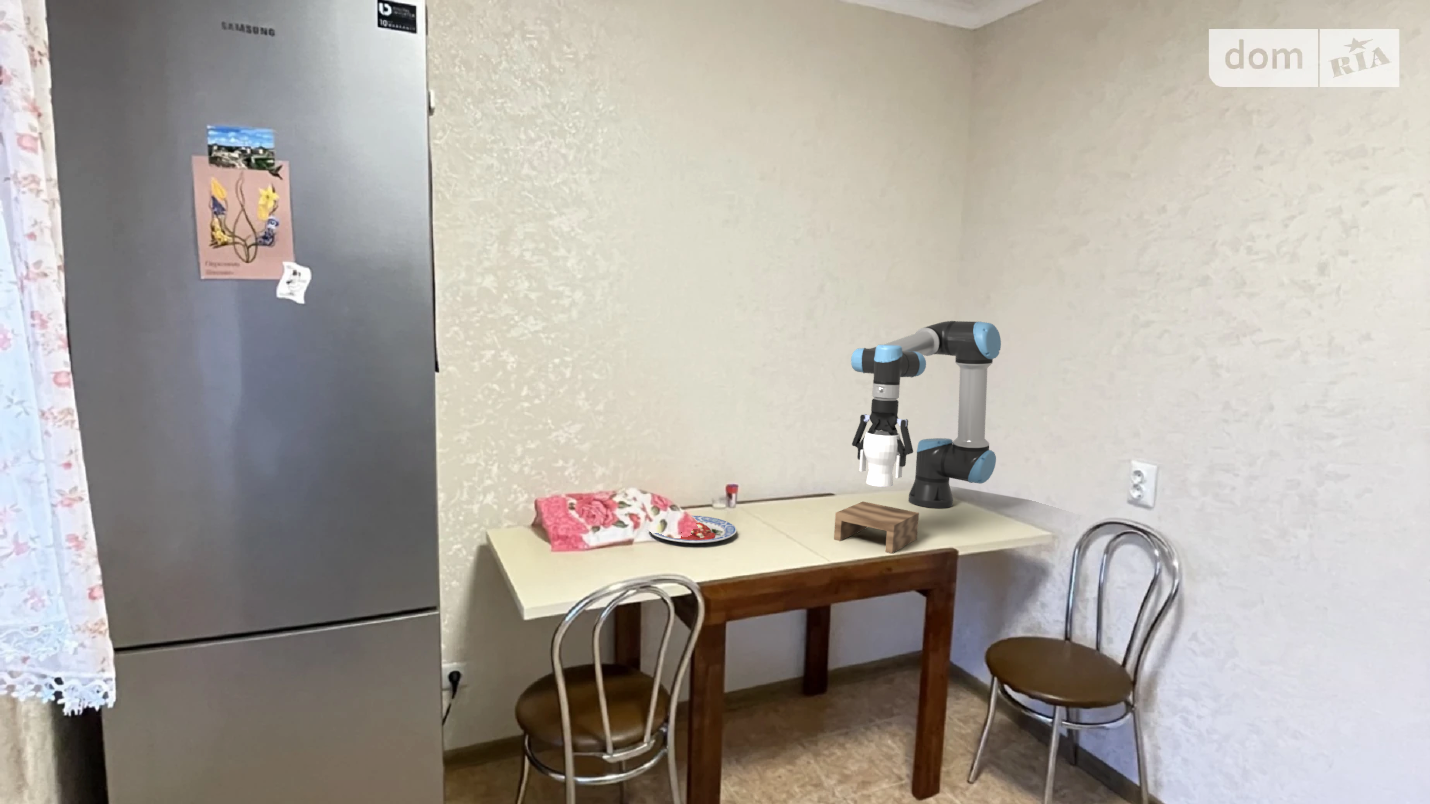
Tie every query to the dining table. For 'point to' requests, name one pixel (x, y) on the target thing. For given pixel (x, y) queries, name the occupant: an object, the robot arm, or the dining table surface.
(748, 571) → the dining table surface
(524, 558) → the dining table surface
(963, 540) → the dining table surface
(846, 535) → the walnut shelf
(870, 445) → the cup
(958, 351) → the robot arm
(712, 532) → the ceramic plate
